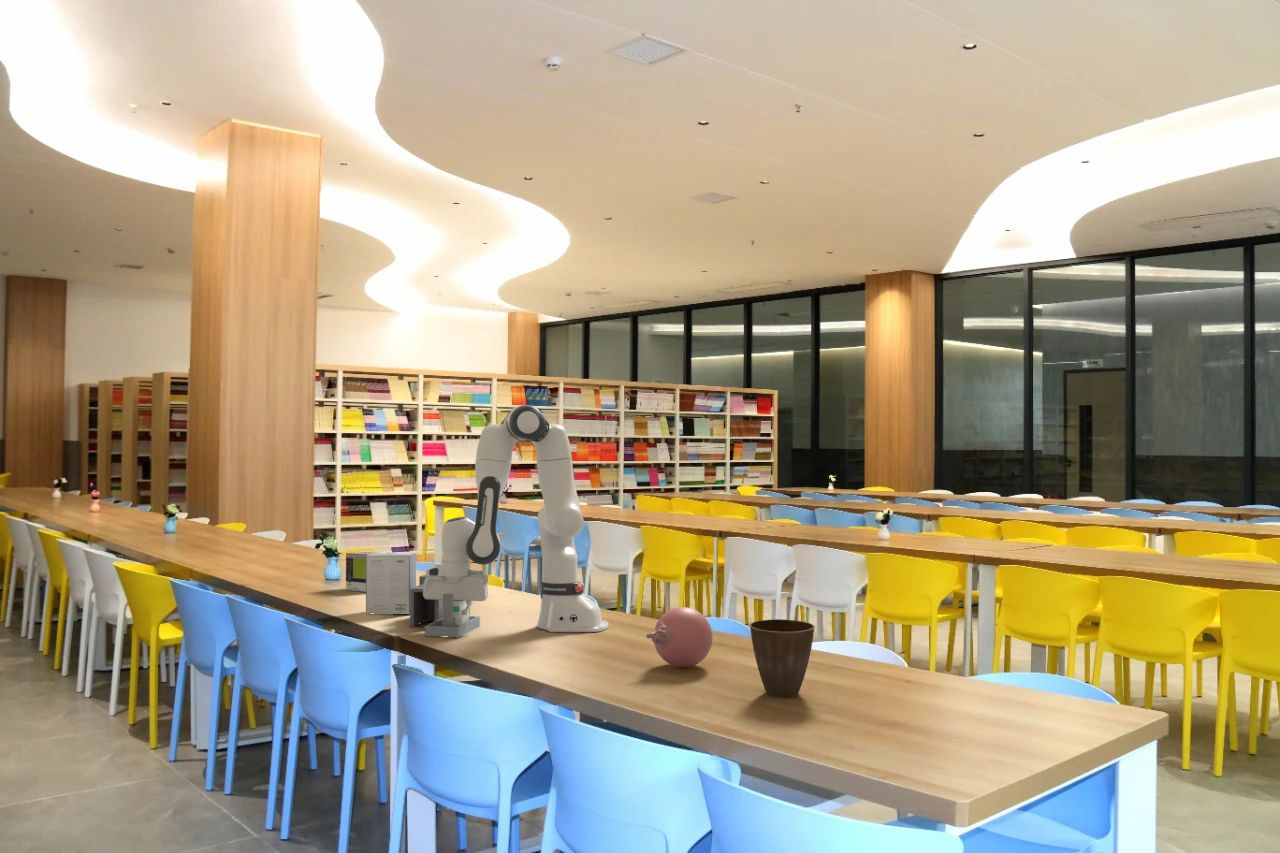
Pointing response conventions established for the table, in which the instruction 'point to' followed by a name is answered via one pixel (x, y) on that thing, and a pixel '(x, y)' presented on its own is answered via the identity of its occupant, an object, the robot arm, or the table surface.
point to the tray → (451, 628)
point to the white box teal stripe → (453, 611)
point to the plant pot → (782, 654)
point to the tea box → (357, 570)
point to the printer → (423, 605)
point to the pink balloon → (682, 637)
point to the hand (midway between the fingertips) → (455, 614)
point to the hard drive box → (389, 582)
